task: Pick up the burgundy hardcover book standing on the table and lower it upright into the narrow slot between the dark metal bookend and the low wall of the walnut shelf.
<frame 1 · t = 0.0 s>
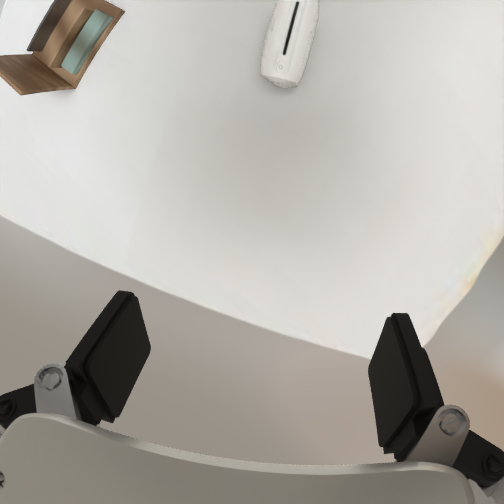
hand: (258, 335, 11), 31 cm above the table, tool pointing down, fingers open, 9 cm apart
shelf: (70, 32, 31), on the table
photo printer: (290, 51, 31), on the table
bookend: (46, 22, 27), point 3 cm above the table
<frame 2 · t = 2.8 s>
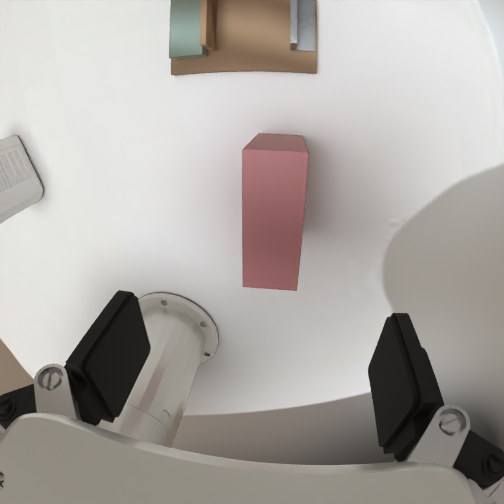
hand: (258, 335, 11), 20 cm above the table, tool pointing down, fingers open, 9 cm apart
shelf: (254, 4, 21), on the table
photo printer: (25, 167, 31), on the table
book: (278, 185, 29), on the table
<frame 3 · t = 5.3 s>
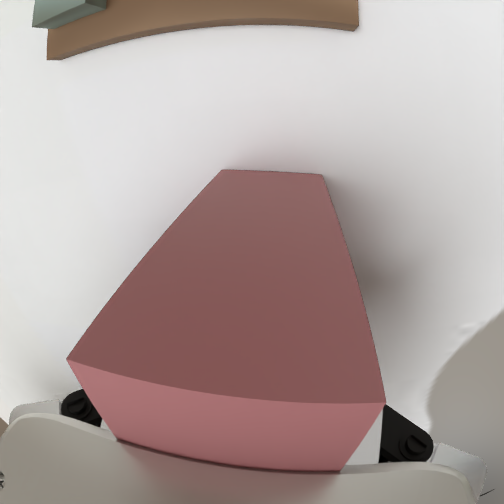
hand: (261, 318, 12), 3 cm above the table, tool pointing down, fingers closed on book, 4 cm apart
book: (267, 278, 14), on the table, touching gripper
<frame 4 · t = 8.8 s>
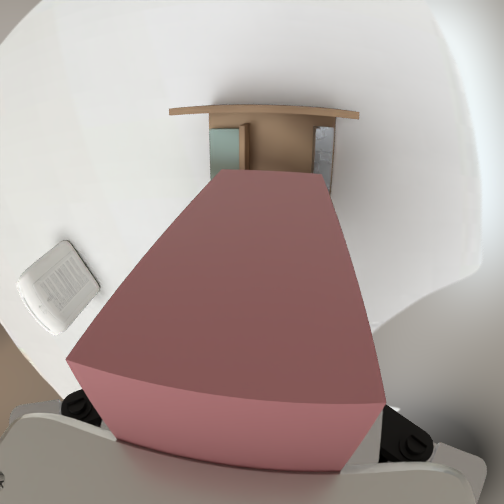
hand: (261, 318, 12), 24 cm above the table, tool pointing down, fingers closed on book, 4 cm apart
shelf: (280, 168, 32), on the table
photo printer: (79, 266, 43), on the table
bookend: (322, 177, 29), point 3 cm above the table
book: (267, 277, 14), point 21 cm above the table, touching gripper
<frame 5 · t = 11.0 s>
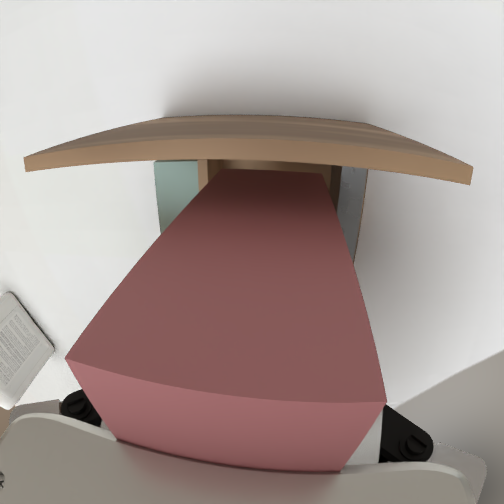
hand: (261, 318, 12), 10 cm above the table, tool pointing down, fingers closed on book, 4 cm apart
shelf: (275, 221, 20), on the table
photo printer: (29, 321, 31), on the table
bookend: (345, 244, 17), point 3 cm above the table
book: (267, 277, 14), point 7 cm above the table, touching gripper
when the fingers open (5 cm above the table, at t = 12.5 s): book drops 1 cm, resting on shelf.
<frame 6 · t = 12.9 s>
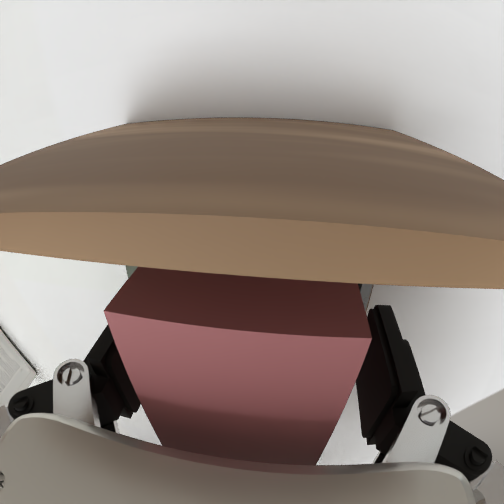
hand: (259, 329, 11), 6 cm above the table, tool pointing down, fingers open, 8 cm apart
shelf: (270, 255, 16), on the table
photo printer: (10, 344, 27), on the table
book: (269, 266, 15), point 1 cm above the table, touching shelf
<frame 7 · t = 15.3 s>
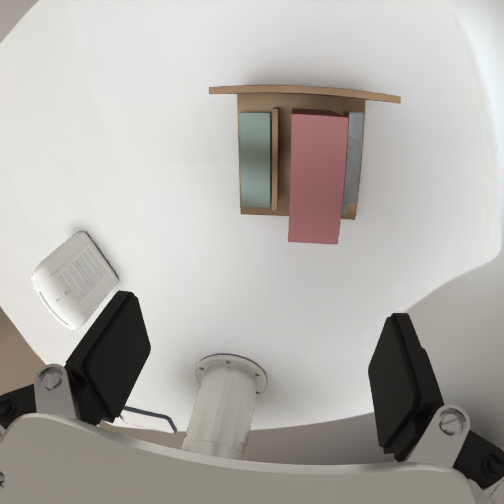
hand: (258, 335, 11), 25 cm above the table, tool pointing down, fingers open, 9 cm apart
shelf: (309, 153, 31), on the table
photo printer: (96, 258, 42), on the table
phone case: (146, 416, 67), on the table
bookend: (353, 161, 28), point 3 cm above the table
book: (310, 156, 30), point 1 cm above the table, touching shelf
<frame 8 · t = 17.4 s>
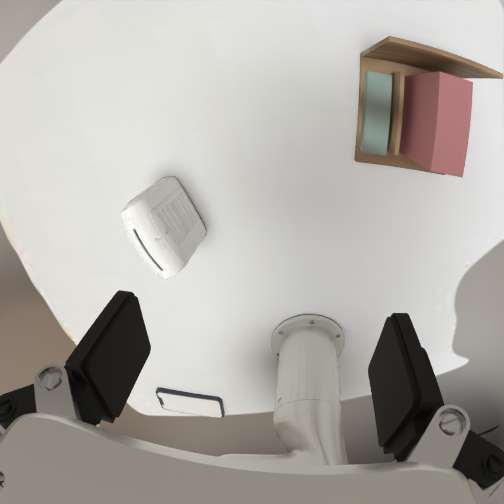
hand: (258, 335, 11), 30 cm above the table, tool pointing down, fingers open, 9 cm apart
shelf: (413, 115, 32), on the table
photo printer: (181, 207, 42), on the table
phone case: (191, 400, 66), on the table
book: (416, 116, 31), point 1 cm above the table, touching shelf
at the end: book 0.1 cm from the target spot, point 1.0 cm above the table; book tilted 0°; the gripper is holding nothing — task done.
